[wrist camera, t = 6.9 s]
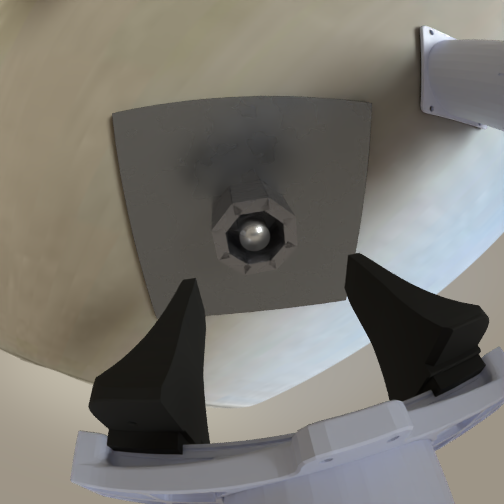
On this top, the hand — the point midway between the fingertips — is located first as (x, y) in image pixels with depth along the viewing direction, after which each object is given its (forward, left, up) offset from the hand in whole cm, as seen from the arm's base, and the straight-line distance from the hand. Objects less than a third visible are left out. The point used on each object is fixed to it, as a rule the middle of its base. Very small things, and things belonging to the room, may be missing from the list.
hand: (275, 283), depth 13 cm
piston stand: (0, +1, -9) cm, 9 cm away
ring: (0, +1, -9) cm, 9 cm away
